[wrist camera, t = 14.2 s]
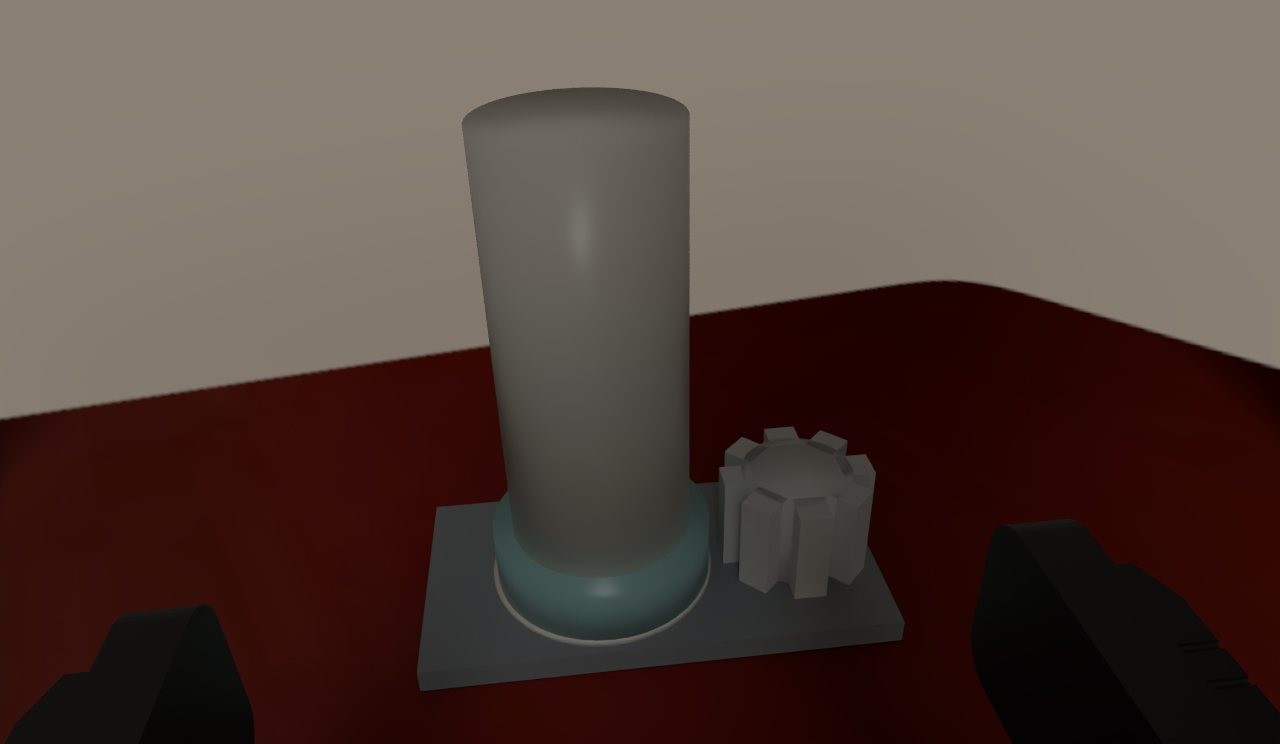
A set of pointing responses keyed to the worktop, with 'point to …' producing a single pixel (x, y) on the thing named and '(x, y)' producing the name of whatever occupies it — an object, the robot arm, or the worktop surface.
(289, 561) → the worktop surface
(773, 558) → the carrier plate
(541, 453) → the gray pillar
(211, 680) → the robot arm
